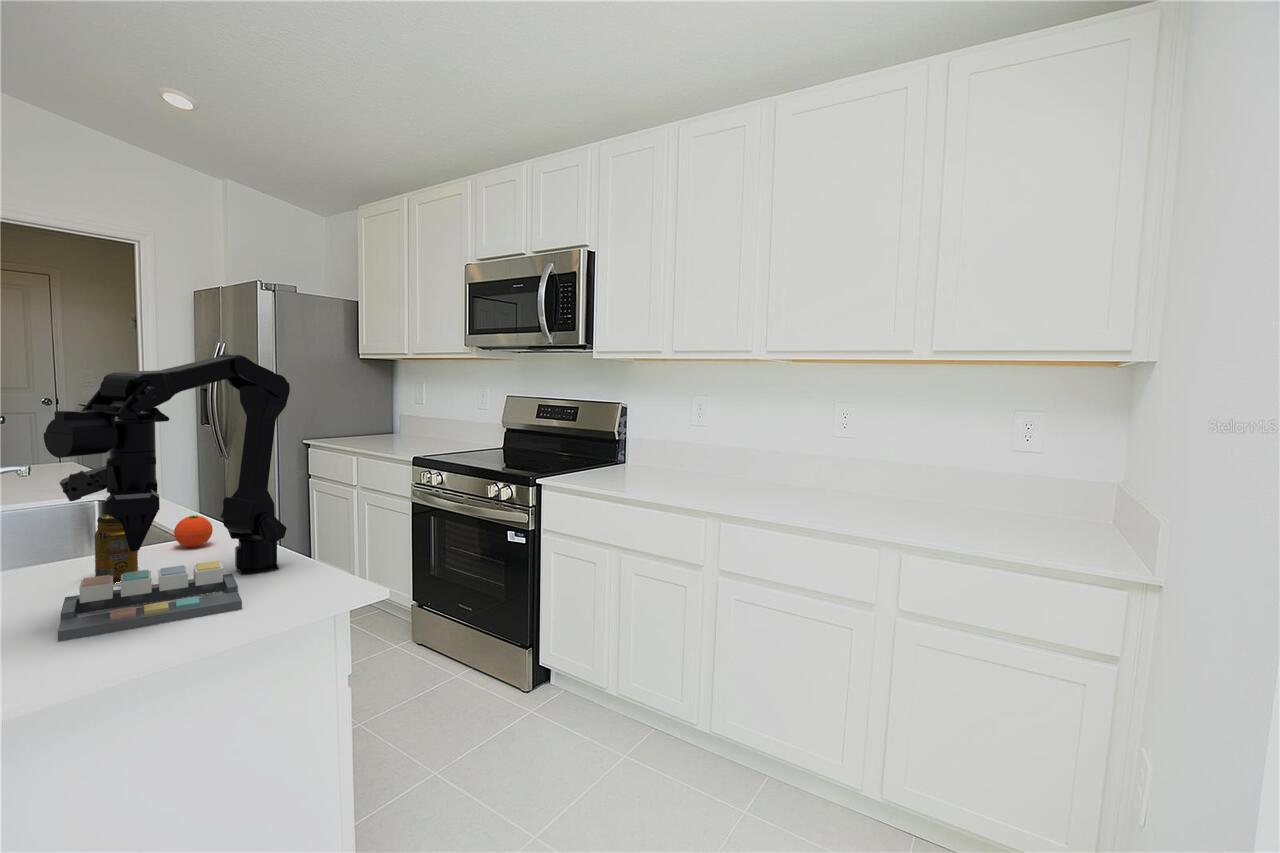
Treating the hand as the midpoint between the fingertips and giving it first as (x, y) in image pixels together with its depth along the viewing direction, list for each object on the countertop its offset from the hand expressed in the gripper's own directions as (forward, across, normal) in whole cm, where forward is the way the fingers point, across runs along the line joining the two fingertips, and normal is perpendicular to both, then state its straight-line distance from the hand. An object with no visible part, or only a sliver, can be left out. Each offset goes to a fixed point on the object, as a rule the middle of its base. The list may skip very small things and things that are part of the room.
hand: (134, 545), depth 98 cm
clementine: (+11, -38, +10) cm, 41 cm away
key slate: (+9, 0, +5) cm, 10 cm away
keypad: (+11, +1, +2) cm, 11 cm away
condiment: (+11, -20, -3) cm, 23 cm away
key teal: (+9, 0, 0) cm, 9 cm away
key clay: (+9, 0, -5) cm, 10 cm away
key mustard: (+9, 0, +10) cm, 13 cm away
